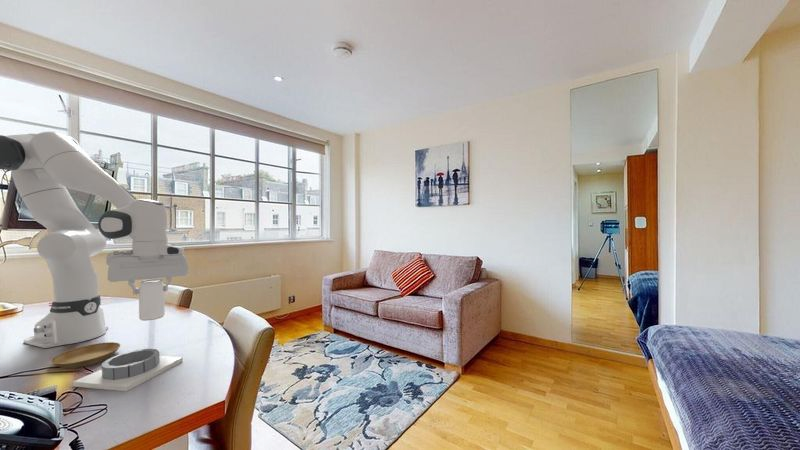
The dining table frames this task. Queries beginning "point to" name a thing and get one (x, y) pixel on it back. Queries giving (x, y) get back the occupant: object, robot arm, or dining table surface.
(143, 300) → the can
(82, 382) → the housing base
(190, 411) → the dining table surface
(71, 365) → the plant saucer
